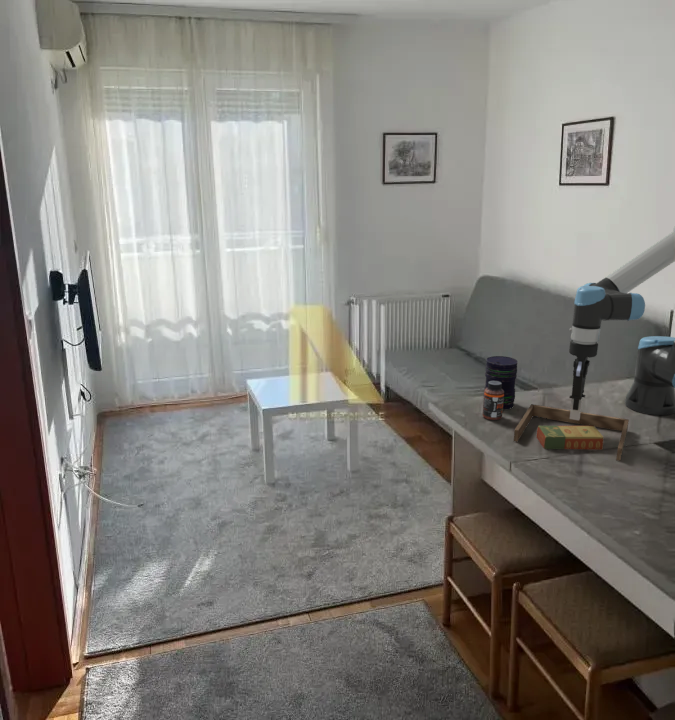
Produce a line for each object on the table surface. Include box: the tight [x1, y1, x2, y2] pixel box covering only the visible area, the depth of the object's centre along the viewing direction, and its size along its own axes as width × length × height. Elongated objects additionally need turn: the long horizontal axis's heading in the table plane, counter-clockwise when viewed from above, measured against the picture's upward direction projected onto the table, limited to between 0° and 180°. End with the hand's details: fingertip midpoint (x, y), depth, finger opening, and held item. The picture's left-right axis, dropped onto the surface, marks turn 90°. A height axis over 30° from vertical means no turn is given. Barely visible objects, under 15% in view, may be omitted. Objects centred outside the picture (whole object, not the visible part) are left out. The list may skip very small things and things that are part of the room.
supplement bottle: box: [482, 381, 504, 421], centre depth 206 cm, size 6×6×11 cm
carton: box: [536, 425, 604, 451], centre depth 189 cm, size 8×16×4 cm, turn 88°
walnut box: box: [513, 403, 630, 462], centre depth 193 cm, size 28×23×4 cm
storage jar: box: [483, 355, 518, 410], centre depth 216 cm, size 10×10×15 cm
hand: (574, 418), depth 198 cm, fingers closed
